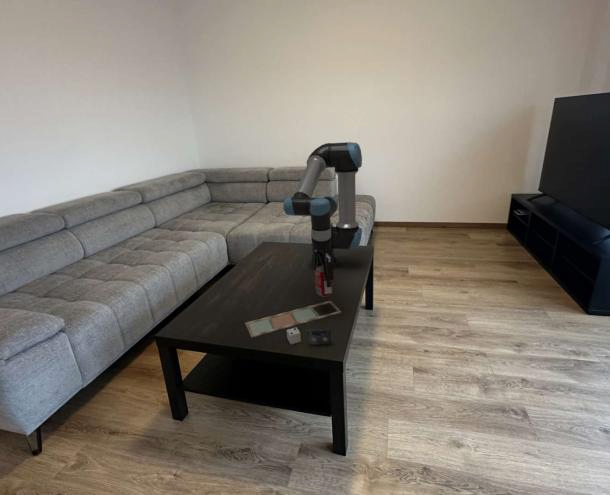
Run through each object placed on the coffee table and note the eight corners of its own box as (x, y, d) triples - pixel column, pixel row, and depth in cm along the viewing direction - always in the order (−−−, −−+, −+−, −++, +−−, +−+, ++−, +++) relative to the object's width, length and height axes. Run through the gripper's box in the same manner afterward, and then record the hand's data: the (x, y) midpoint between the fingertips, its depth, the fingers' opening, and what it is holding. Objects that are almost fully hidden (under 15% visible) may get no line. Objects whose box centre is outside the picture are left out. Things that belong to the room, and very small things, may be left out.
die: (297, 336, 135) (296, 326, 134) (300, 341, 132) (300, 331, 130) (287, 338, 134) (286, 329, 132) (290, 344, 131) (289, 334, 129)
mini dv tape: (330, 341, 131) (330, 328, 128) (330, 344, 129) (330, 330, 127) (308, 342, 131) (307, 328, 129) (308, 344, 130) (307, 331, 128)
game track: (330, 301, 158) (330, 300, 157) (341, 312, 148) (341, 311, 148) (245, 323, 145) (245, 322, 145) (251, 337, 136) (251, 336, 136)
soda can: (334, 290, 151) (333, 265, 146) (330, 298, 145) (329, 272, 140) (318, 288, 153) (317, 263, 148) (314, 296, 147) (312, 271, 142)
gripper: (303, 232, 147) (307, 281, 155) (323, 248, 129) (326, 302, 138) (320, 229, 149) (322, 277, 158) (341, 244, 132) (343, 297, 141)
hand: (324, 288), depth 148 cm, fingers closed on soda can, 7 cm apart
